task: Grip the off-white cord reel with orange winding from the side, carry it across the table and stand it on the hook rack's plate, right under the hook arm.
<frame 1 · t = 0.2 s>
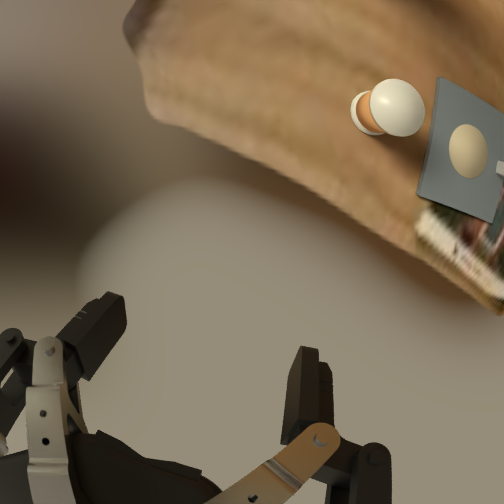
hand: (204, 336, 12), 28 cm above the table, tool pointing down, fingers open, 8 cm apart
cord reel: (371, 113, 31), on the table
hook rack: (469, 152, 30), on the table
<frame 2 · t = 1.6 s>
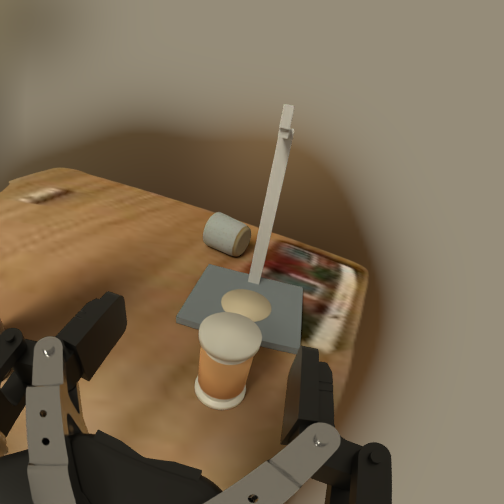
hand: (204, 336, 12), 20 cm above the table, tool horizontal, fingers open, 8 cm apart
ceramic mug: (227, 248, 63), on the table
cord reel: (219, 389, 30), on the table
hook rack: (246, 306, 45), on the table
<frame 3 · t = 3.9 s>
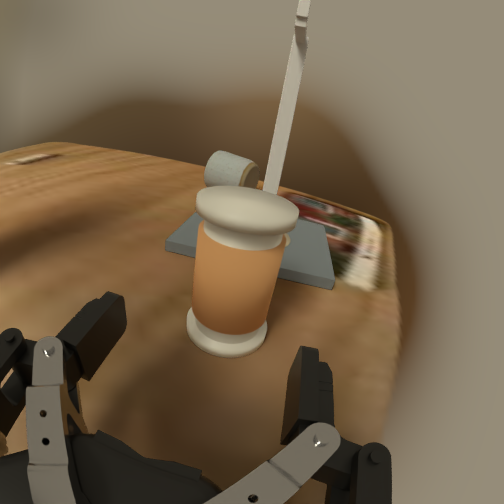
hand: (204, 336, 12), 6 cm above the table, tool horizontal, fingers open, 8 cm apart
ceramic mug: (231, 193, 53), on the table
cord reel: (226, 328, 21), on the table
hook rack: (257, 239, 36), on the table
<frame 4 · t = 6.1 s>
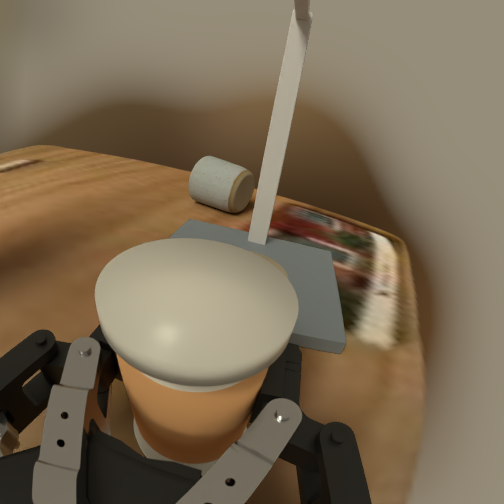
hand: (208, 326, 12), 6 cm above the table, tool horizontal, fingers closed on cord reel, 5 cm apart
ceramic mug: (222, 206, 46), on the table
cord reel: (189, 431, 13), on the table, touching gripper
hook rack: (245, 276, 28), on the table
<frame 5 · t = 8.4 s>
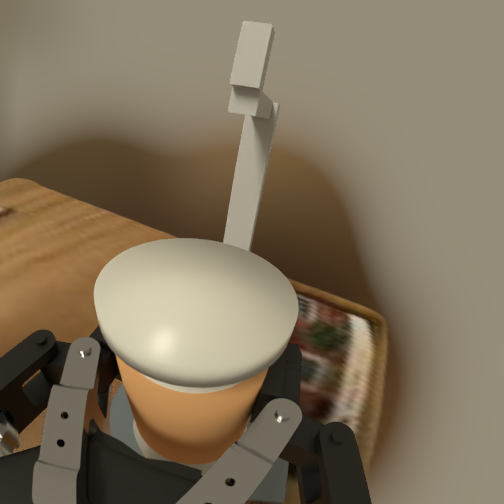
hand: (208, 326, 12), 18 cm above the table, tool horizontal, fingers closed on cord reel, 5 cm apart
cord reel: (189, 431, 13), point 12 cm above the table, touching gripper
hook rack: (201, 419, 24), on the table
when the fingers open (9 cm above the table, at t = 11.0 s): cord reel drops 1 cm, resting on hook rack.
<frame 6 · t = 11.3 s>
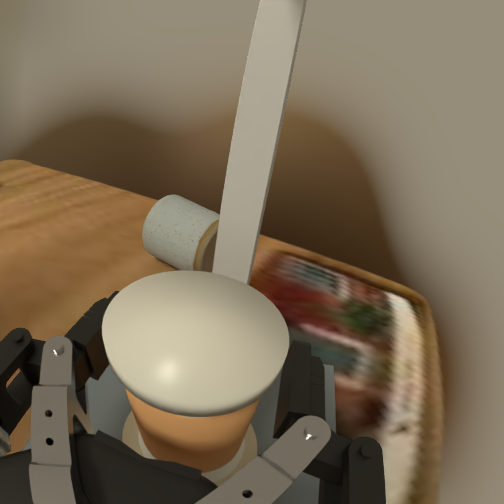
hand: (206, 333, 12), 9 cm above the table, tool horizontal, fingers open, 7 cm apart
ceramic mug: (192, 262, 34), on the table
cord reel: (191, 441, 13), point 1 cm above the table, touching hook rack
hook rack: (193, 435, 15), on the table
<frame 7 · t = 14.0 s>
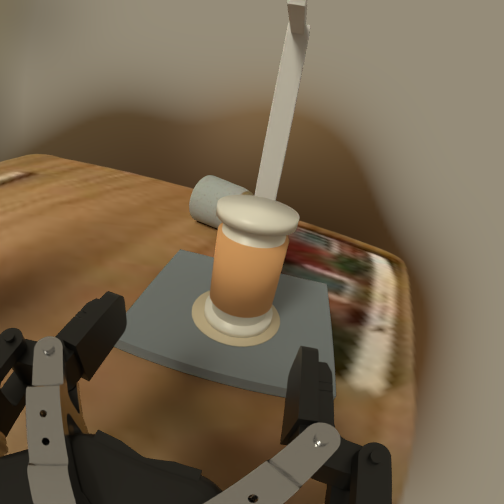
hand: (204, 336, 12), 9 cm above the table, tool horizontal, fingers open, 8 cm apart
ceramic mug: (223, 225, 46), on the table
cord reel: (237, 314, 25), point 1 cm above the table, touching hook rack
hook rack: (236, 317, 26), on the table
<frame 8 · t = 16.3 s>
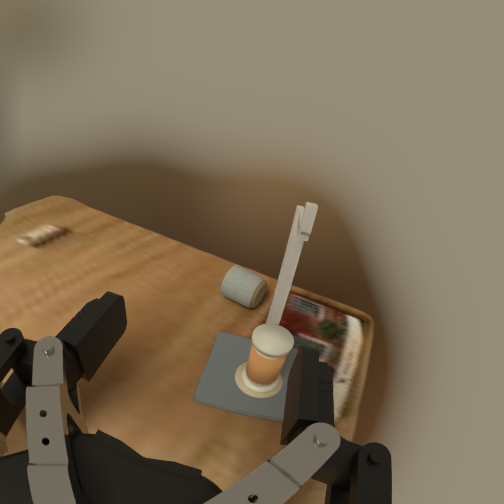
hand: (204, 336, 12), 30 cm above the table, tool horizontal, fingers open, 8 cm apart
ceramic mug: (243, 298, 65), on the table
cord reel: (259, 378, 43), point 1 cm above the table, touching hook rack
hook rack: (258, 378, 44), on the table
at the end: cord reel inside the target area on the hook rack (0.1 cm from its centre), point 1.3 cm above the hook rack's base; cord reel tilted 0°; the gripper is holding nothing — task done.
